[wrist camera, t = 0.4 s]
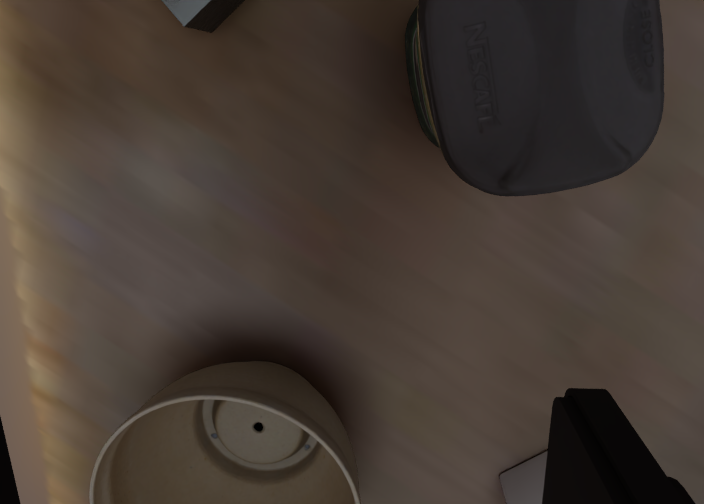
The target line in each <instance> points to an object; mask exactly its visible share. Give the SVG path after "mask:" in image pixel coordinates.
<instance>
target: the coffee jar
mask: <svg viewBox="0 0 704 504" xmlns="http://www.w3.org/2000/svg"><path fill="white" fill-rule="evenodd" d="M405 49H406V63H407V72H408V78H409V84H410V89H411V94H412V98H413V103H414V106H415V110H416V113H417V116H418V119H419V122H420V125H421V128H422V130H423V132H424V133H425V135H426V136H427V137H428V139H429V140H430V141H431V142H432V143H433V144H435V145H436V146H437V147H439V148H440V149H441V151H442V153H443V155H444V158H445V160H446V161H447V163H448V165H449V166H450V168H451V169H452V170H453V171H454V172H455V173H456V174H457V175H458V176H459V177H460V178H461V179H462V180H463V181H465V182H466V183H468V184H469V185H471V186H473V187H475V188H478V189H479V190H481V191H484V192H486V193H489V194H493V195H499V196H526V195H537V194H545V193H552V192H558V191H563V190H568V189H573V188H577V187H581V186H586V185H590V184H593V183H597V182H600V181H603V180H606V179H609V178H612V177H614V176H617V175H619V174H621V173H623V172H624V171H626V170H627V169H629V168H630V167H631V166H632V165H634V164H635V163H636V162H637V161H638V160H639V159H640V158H641V157H642V156H643V155H644V153H645V152H646V151H647V149H648V148H649V146H650V145H651V143H652V141H653V139H654V137H655V135H656V133H657V131H658V128H659V125H660V122H661V118H662V112H663V103H664V48H663V33H662V20H661V13H660V5H659V0H419V4H418V6H417V7H416V8H415V10H414V12H413V13H412V15H411V17H410V19H409V22H408V24H407V28H406V33H405Z"/></svg>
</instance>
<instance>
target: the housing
mask: <svg viewBox="0 0 704 504" xmlns="http://www.w3.org/2000/svg"><path fill="white" fill-rule="evenodd" d="M162 1H163V2H164V4H165V5H166V6H167V7H168V8H169V9H170V11H171V12H172V13H173V14H174V15H175V16H176V18H177V19H178V20H179V21H180V22H181V23H182V25H183V26H184V27H188V28H193V29H197V30H201V31H206V32H210V33H212V32H213V31H214V30H215V29H216V28H217V27H218V26H219V25H220V24H221V23H222V22H223V21H224V20H225V19H226V18H227V17H228V16H229V15H230V14H231V13H232V12H233V11H234V10H235V9H236V8H237V7H238V6H239V5H240V4H242V3H243V2H244V1H245V0H162Z"/></svg>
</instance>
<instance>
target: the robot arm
mask: <svg viewBox="0 0 704 504" xmlns="http://www.w3.org/2000/svg"><path fill="white" fill-rule="evenodd" d="M0 504H20V500H19V496H18V491H17V487H16V483H15V478H14V474H13V470H12V465H11V461H10V457H9V452H8V447H7V443H6V439H5V435H4V430H3V426H2V421H1V417H0ZM542 504H695V503H694V501H693V500H692V498H691V497H690V496H689V494H688V493H687V491H686V490H685V489H684V487H683V486H682V485H681V484H680V483H679V482H678V481H677V480H676V479H673V478H671V477H667V476H666V475H665V473H664V472H663V470H662V469H661V467H660V466H659V464H658V463H657V461H656V460H655V459H654V457H653V456H652V454H651V453H650V451H649V450H648V448H647V447H646V446H645V444H644V443H643V441H642V440H641V438H640V437H639V435H638V434H637V432H636V431H635V430H634V428H633V427H632V425H631V424H630V422H629V421H628V419H627V418H626V416H625V415H624V414H623V412H622V411H621V409H620V408H619V406H618V405H617V403H616V402H615V400H614V399H613V398H612V396H611V395H610V393H609V392H608V391H607V390H605V389H578V388H569V389H568V390H566V393H565V396H564V397H556V398H555V399H554V401H553V406H552V415H551V424H550V434H549V443H548V452H547V461H546V470H545V480H544V489H543V498H542Z"/></svg>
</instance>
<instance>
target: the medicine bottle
mask: <svg viewBox="0 0 704 504" xmlns="http://www.w3.org/2000/svg"><path fill="white" fill-rule="evenodd" d="M547 452H548V451H546V452H544V453H542V454H540V455H538V456H536V457H534V458H532V459H530V460H528V461H526V462H524V463H522V464H520V465H518V466H516V467H514V468H512V469H510V470H508V471H506V472H504V473H502V474H501V475H500V478H499V479H500V482H501V486H502V489H503V493H504V497H505V500H506V504H542V498H543V489H544V480H545V470H546V461H547Z"/></svg>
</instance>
